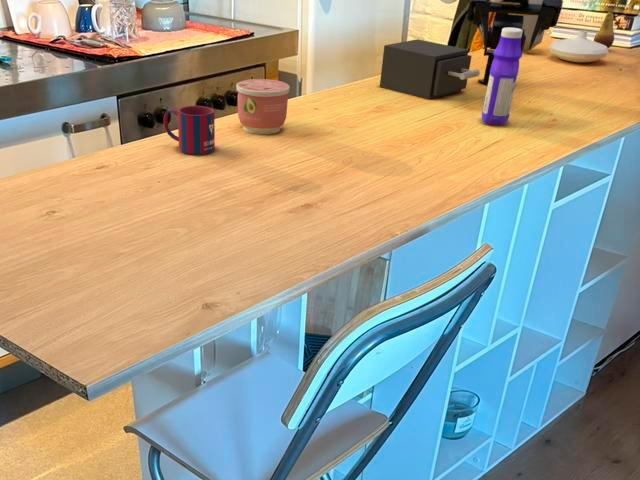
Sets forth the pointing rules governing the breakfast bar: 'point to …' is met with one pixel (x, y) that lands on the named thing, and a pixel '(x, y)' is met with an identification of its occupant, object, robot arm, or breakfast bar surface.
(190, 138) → the mug
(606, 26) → the fruit
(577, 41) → the vase
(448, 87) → the pull-out drawer box
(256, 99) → the container
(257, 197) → the breakfast bar surface
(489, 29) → the robot arm
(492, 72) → the bottle
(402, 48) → the dark drawer cabinet casing
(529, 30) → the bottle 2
